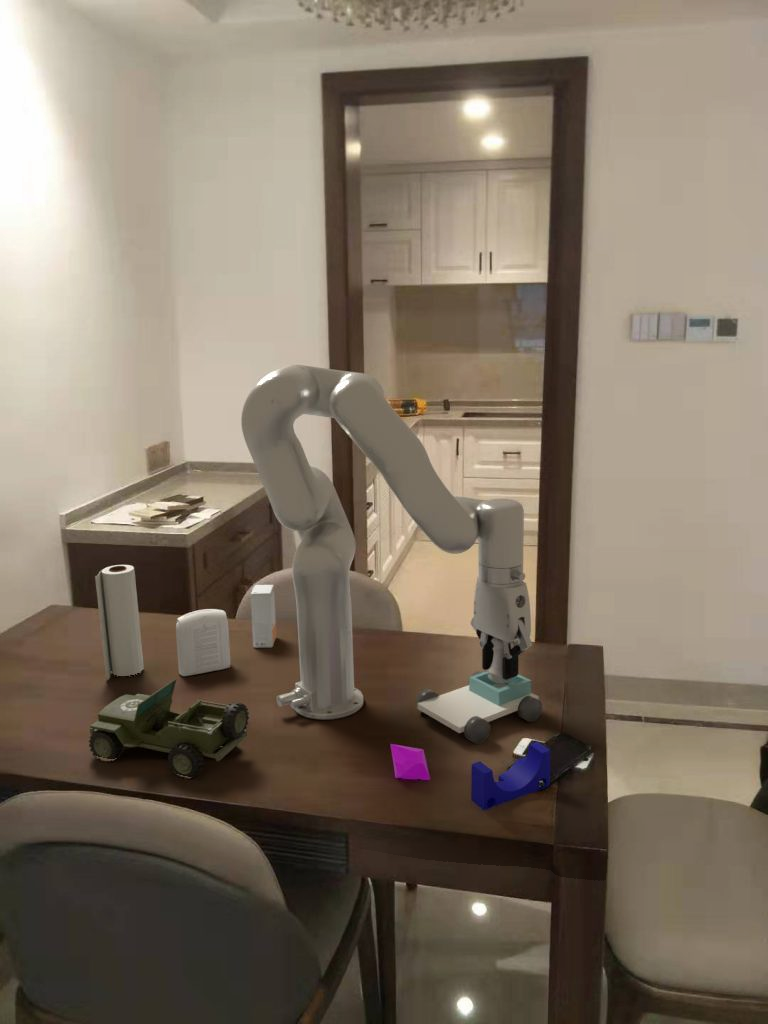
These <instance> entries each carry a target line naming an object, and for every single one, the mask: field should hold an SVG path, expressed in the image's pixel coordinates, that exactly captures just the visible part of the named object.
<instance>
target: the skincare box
mask: <svg viewBox="0 0 768 1024" xmlns="http://www.w3.org/2000/svg"><path fill="white" fill-rule="evenodd" d="M251 590H252V591H251V592H250V595H249V596H250V612H251V613H250V614H251V633H252V648H255V649H256V648H257V649H258V648H273V647H274V644H275V641H276V639H277V623H276V601H275V586H274V584H255V585H253V588H252V589H251Z"/></svg>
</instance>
